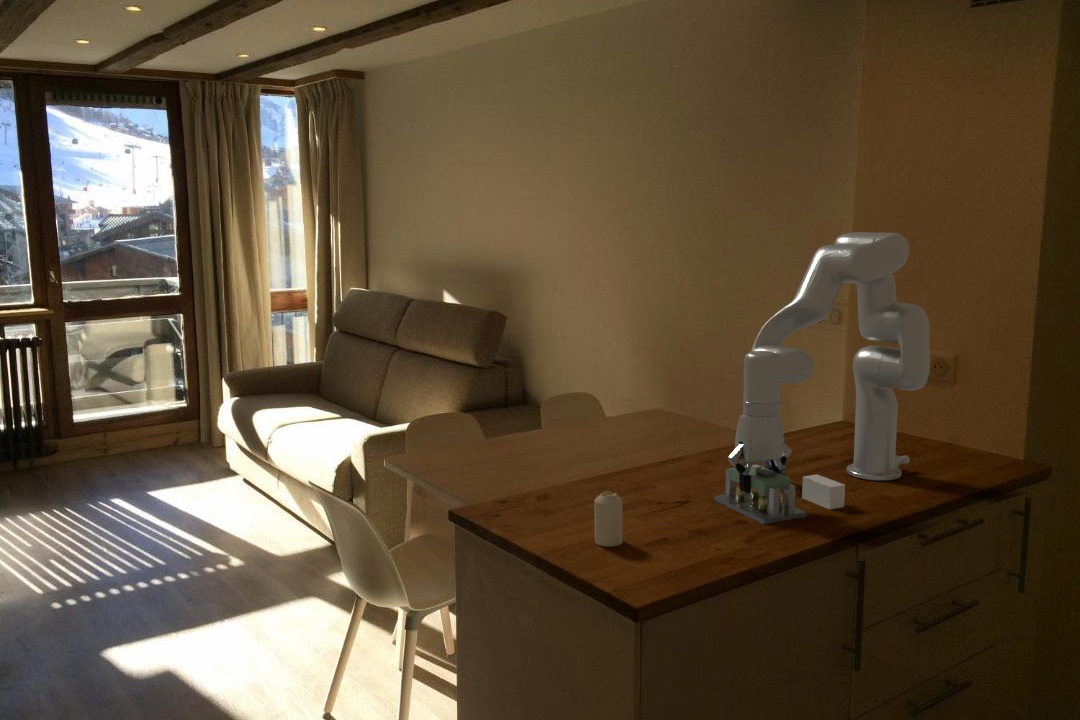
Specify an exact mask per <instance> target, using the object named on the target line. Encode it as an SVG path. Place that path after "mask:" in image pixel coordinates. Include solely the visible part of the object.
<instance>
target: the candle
mask: <svg viewBox="0 0 1080 720" xmlns="http://www.w3.org/2000/svg"><path fill="white" fill-rule="evenodd" d="M593 502H594V503H593V504H594V506H593V507H594V509H593V510H594V511H593V512H594V542H595V544H597V545H598V546H600V547H610V548H612V547H617V546H620V545H622V544H623V541H624V539H623V535H624V532H623V529H624V527H623V523H624V519H623V516H624V515H623V511H624V510H623V507H624V506H623V502H624V501H623V499H622V497H620V496H619V495H618V493H617V492H614V493H613V492H611V491H610V490H605V491H603V492H602V493H600V494H599V495H598V496H596V498H595V499H594V501H593Z"/></svg>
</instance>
